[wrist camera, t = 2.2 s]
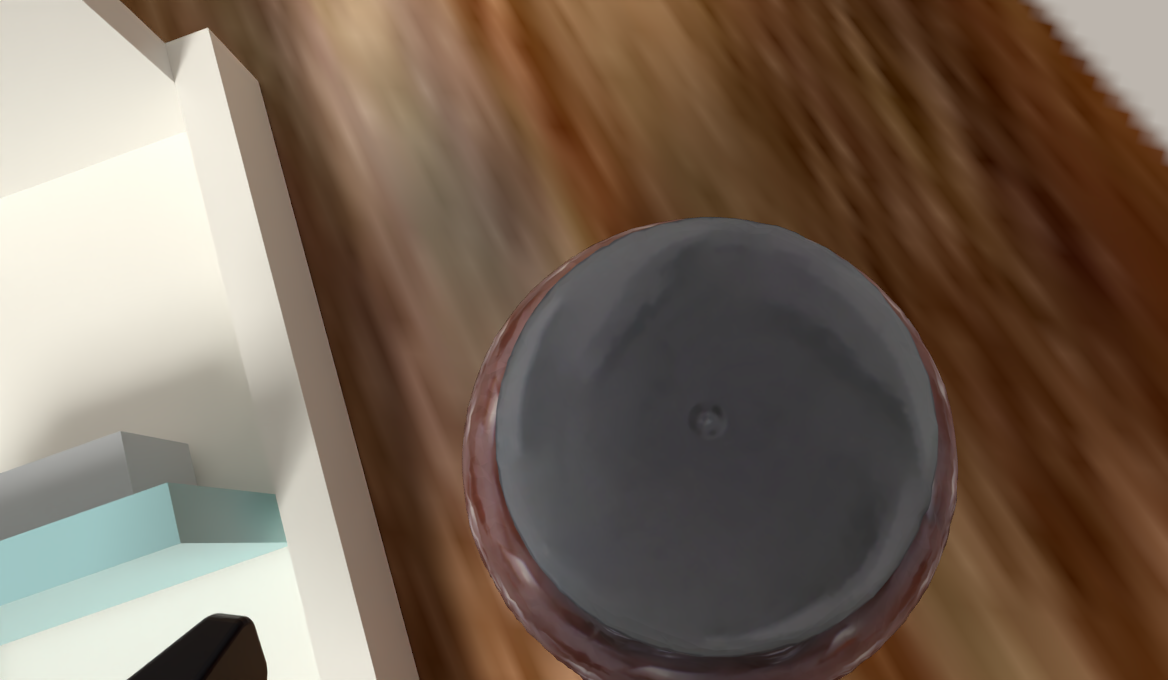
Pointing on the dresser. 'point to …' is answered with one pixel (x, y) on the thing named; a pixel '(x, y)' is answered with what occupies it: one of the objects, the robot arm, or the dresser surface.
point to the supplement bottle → (709, 458)
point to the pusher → (117, 529)
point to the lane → (177, 335)
